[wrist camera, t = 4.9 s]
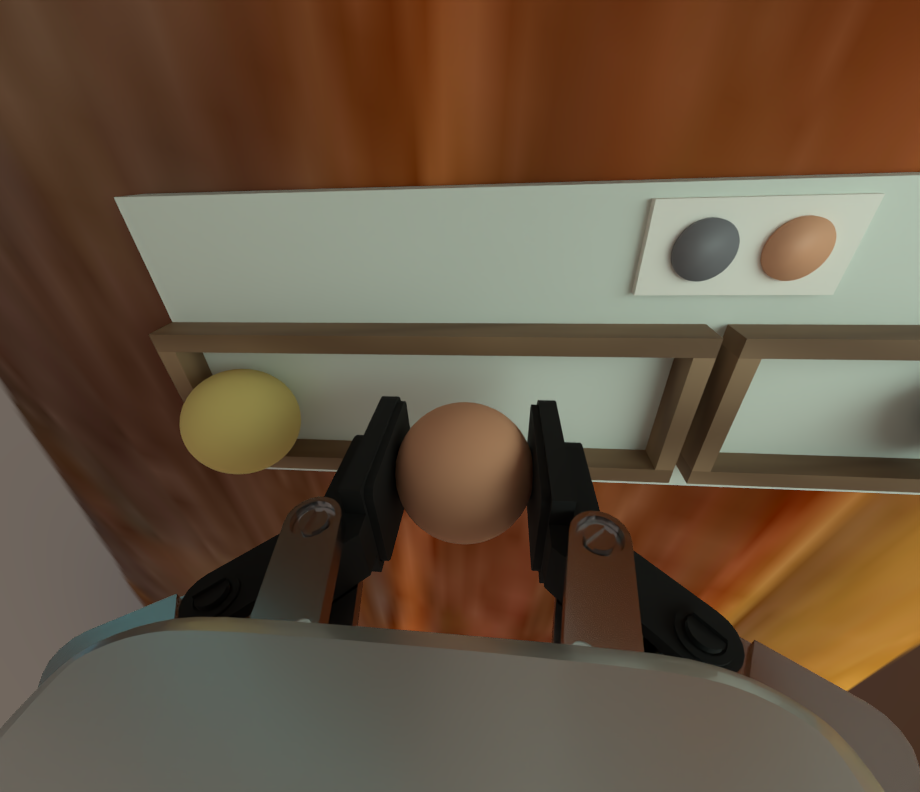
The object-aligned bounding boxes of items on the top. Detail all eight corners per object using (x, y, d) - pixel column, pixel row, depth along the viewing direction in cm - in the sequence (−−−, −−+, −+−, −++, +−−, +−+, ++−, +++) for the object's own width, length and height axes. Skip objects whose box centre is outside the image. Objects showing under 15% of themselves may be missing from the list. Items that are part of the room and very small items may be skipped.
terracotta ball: (403, 374, 12) (365, 468, 8) (534, 377, 11) (548, 476, 8) (416, 467, 14) (390, 569, 11) (525, 472, 14) (533, 578, 10)
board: (142, 193, 13) (100, 199, 12) (1242, 163, 10) (1360, 164, 9) (254, 451, 20) (235, 474, 18) (948, 476, 17) (990, 506, 15)
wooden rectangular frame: (727, 324, 13) (747, 338, 12) (1143, 325, 12) (1203, 342, 11) (674, 463, 16) (686, 483, 15) (992, 474, 15) (1027, 496, 14)
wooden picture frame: (172, 322, 15) (148, 334, 14) (706, 323, 13) (723, 338, 12) (231, 447, 18) (216, 465, 17) (658, 462, 16) (668, 483, 15)
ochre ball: (208, 350, 15) (126, 406, 12) (303, 351, 15) (247, 409, 11) (242, 428, 17) (181, 494, 14) (326, 431, 17) (284, 499, 14)
